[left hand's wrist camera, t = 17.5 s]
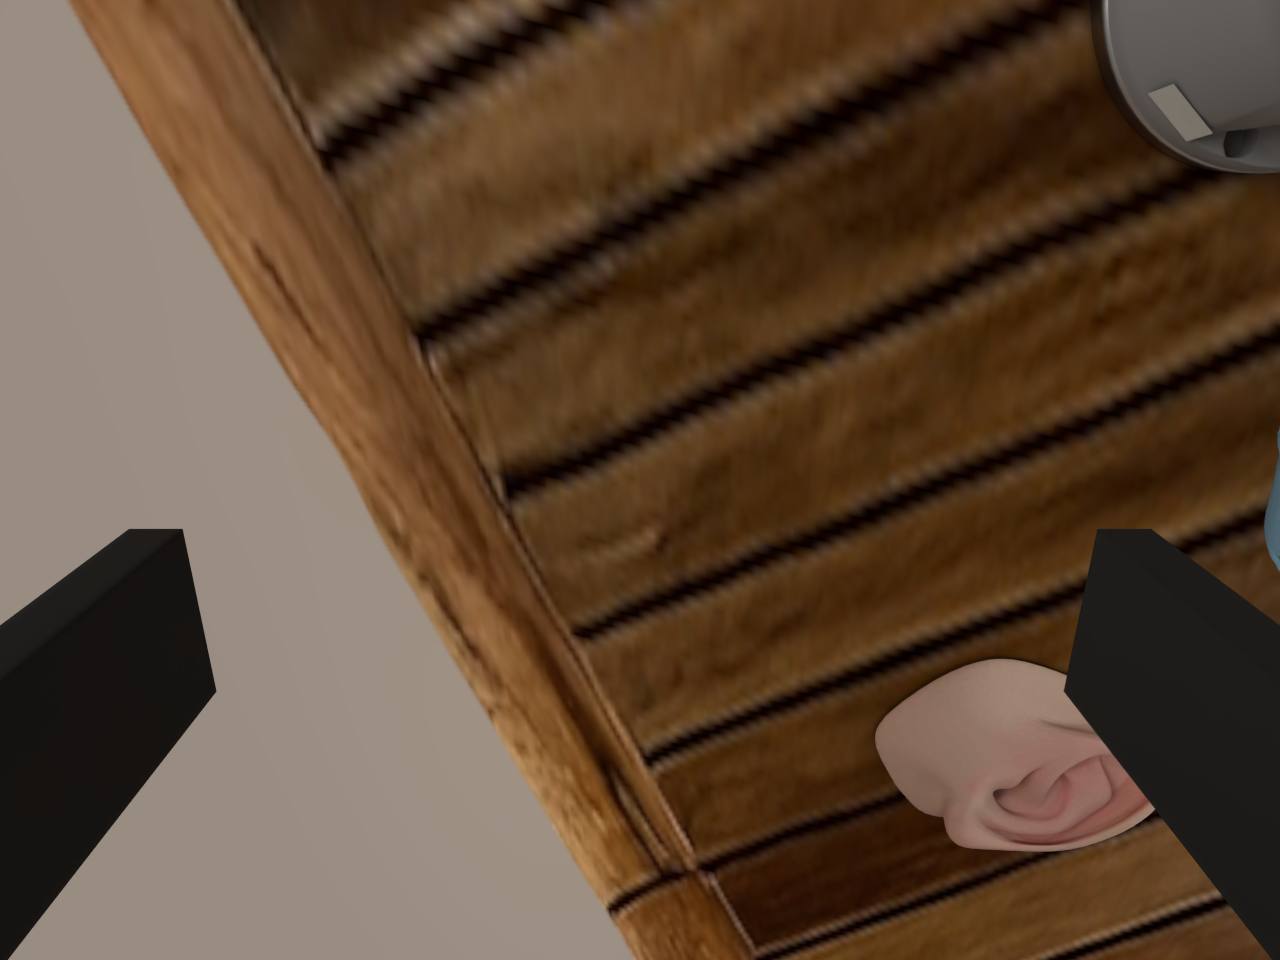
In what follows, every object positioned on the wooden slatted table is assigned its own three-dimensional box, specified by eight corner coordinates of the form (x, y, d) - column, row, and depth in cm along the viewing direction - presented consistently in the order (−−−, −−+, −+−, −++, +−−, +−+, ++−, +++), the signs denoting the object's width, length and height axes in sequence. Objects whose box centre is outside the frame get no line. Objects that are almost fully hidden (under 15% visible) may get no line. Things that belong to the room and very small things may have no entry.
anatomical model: (858, 813, 44) (1012, 653, 41) (840, 762, 48) (981, 611, 44) (1047, 922, 47) (1207, 780, 43) (1017, 865, 51) (1162, 730, 47)
